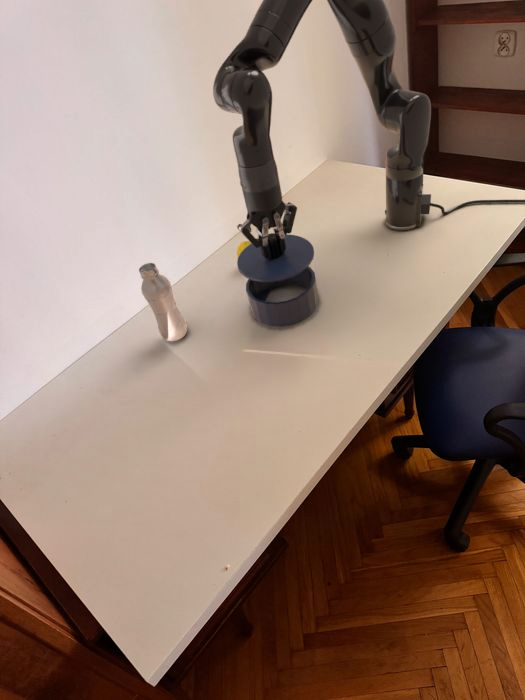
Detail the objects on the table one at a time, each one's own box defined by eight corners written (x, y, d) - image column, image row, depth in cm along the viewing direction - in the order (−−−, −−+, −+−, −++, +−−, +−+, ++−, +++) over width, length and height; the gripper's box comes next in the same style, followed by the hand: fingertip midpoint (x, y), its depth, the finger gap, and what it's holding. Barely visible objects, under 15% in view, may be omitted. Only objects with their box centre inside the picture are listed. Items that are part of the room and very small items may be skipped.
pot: (324, 285, 117) (321, 261, 112) (309, 330, 107) (305, 305, 102) (263, 283, 122) (257, 260, 117) (243, 325, 112) (236, 302, 107)
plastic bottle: (160, 333, 116) (129, 266, 102) (186, 322, 117) (158, 255, 103) (166, 348, 112) (134, 281, 98) (193, 337, 113) (165, 269, 99)
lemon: (264, 262, 129) (258, 237, 124) (253, 274, 126) (247, 249, 121) (247, 259, 132) (241, 234, 126) (236, 271, 129) (229, 246, 123)
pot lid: (321, 238, 108) (319, 214, 104) (304, 285, 97) (300, 261, 93) (251, 238, 114) (246, 215, 110) (227, 282, 103) (220, 259, 99)
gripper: (236, 201, 89) (254, 276, 101) (300, 174, 92) (310, 249, 103) (220, 188, 94) (240, 260, 106) (281, 163, 97) (293, 236, 109)
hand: (274, 255), depth 105 cm, fingers closed on pot lid, 2 cm apart
